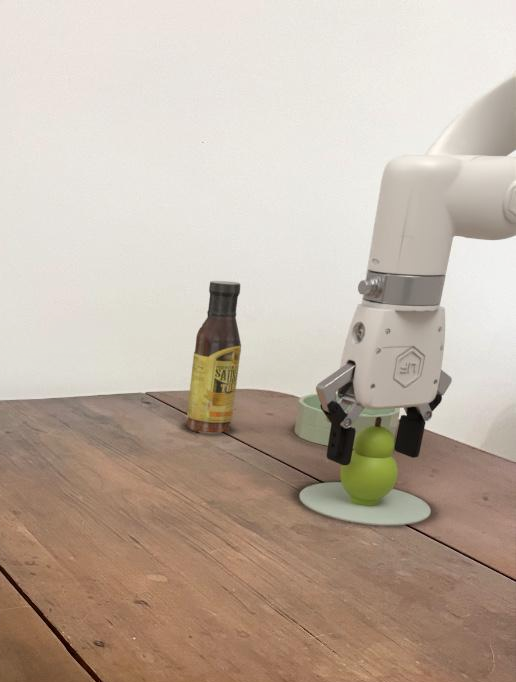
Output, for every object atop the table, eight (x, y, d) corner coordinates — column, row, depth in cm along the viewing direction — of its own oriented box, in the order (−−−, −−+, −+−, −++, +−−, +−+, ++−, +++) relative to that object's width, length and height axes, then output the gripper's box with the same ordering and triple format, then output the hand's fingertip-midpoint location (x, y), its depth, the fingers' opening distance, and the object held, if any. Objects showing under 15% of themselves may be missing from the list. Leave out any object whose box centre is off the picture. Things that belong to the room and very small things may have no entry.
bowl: (372, 428, 133) (378, 394, 131) (408, 454, 121) (415, 417, 119) (282, 427, 132) (287, 392, 130) (310, 453, 120) (316, 415, 118)
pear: (379, 493, 105) (395, 410, 101) (400, 510, 99) (418, 424, 95) (328, 492, 104) (342, 409, 100) (346, 510, 99) (361, 423, 95)
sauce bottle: (214, 439, 125) (230, 285, 116) (176, 429, 129) (189, 280, 120) (240, 431, 129) (257, 282, 121) (203, 422, 133) (217, 278, 125)
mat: (399, 485, 109) (400, 482, 109) (452, 527, 96) (453, 524, 96) (284, 484, 108) (284, 481, 107) (321, 526, 95) (322, 523, 95)
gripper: (358, 298, 86) (330, 475, 93) (495, 294, 92) (458, 460, 100) (308, 288, 92) (285, 455, 99) (440, 285, 99) (409, 442, 106)
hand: (372, 457), depth 100 cm, fingers open, 8 cm apart
